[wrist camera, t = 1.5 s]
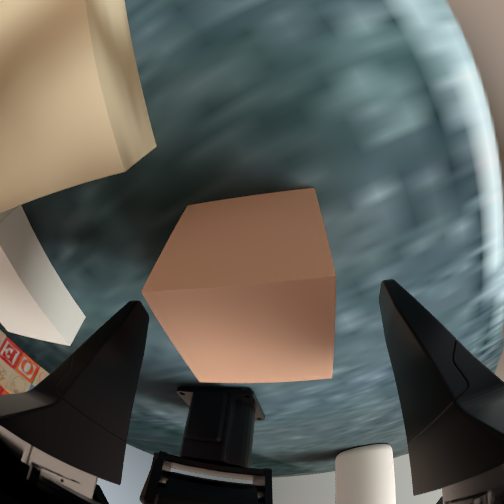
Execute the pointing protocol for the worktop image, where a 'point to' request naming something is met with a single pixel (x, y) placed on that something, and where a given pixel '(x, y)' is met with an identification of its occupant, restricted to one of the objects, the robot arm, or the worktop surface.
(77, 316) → the white plastic slab
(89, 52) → the birch slab
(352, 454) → the wine bottle
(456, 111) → the worktop surface
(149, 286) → the terracotta cube
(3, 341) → the stack of blocks
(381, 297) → the robot arm
